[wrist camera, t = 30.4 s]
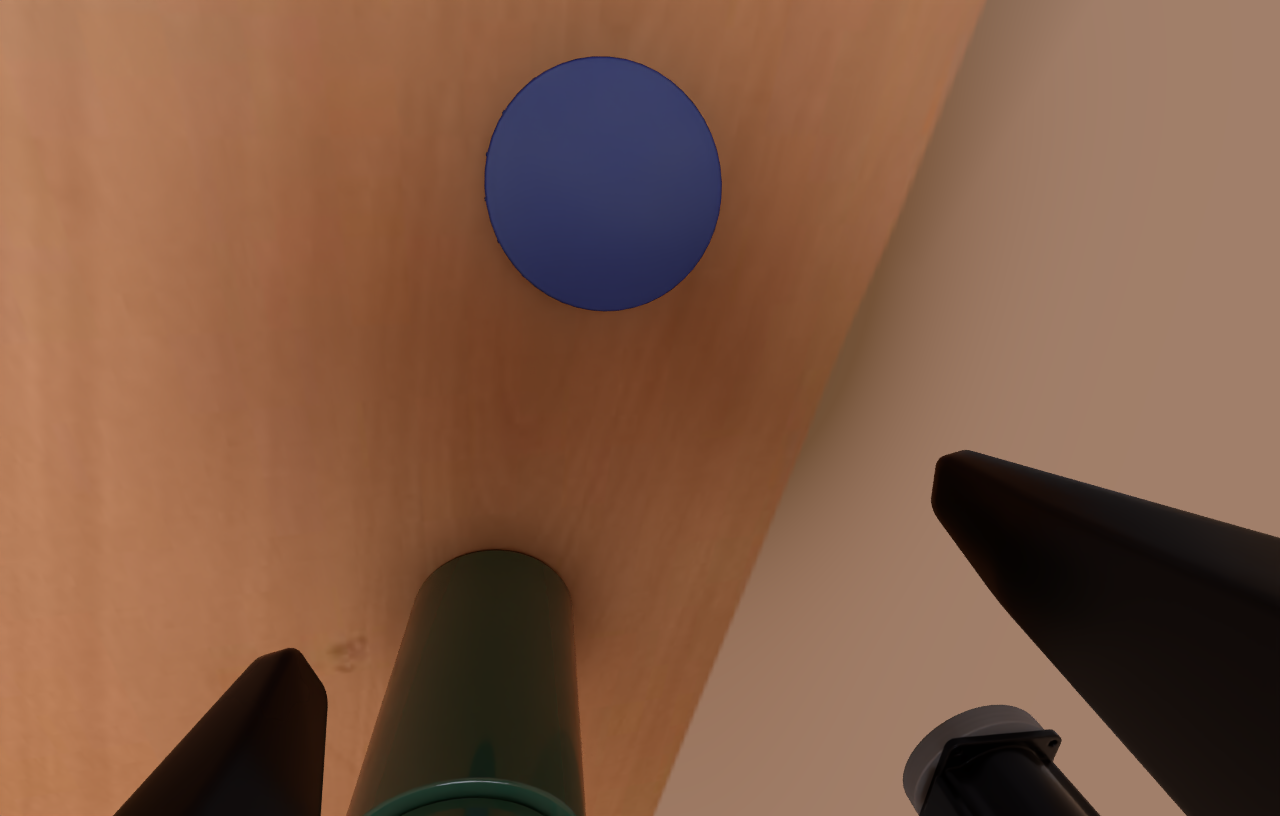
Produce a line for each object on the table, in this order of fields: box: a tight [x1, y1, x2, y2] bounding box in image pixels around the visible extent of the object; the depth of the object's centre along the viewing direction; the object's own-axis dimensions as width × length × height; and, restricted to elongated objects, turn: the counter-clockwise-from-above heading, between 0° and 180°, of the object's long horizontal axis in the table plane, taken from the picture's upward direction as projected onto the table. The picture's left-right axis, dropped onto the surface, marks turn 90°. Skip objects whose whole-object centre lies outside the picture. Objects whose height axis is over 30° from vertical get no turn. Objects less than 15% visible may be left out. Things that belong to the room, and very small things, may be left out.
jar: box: [346, 550, 586, 816], centre depth 18 cm, size 6×6×11 cm
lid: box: [485, 57, 722, 311], centre depth 18 cm, size 7×7×2 cm
